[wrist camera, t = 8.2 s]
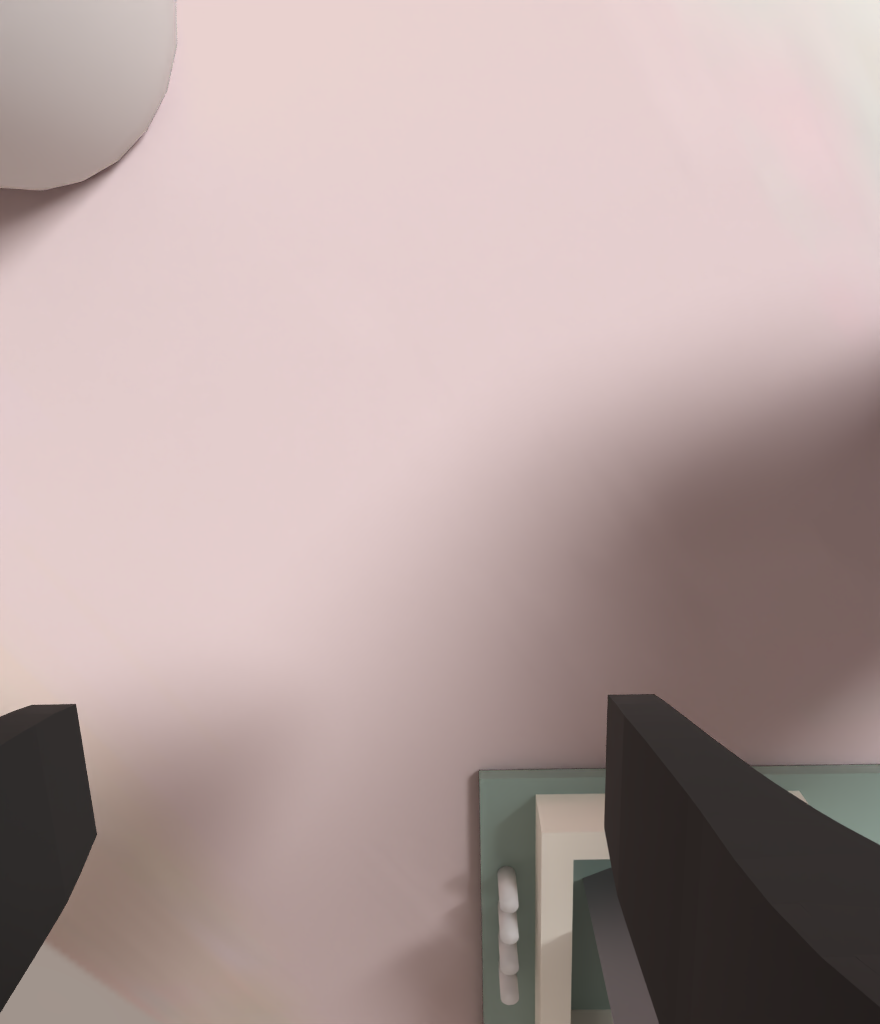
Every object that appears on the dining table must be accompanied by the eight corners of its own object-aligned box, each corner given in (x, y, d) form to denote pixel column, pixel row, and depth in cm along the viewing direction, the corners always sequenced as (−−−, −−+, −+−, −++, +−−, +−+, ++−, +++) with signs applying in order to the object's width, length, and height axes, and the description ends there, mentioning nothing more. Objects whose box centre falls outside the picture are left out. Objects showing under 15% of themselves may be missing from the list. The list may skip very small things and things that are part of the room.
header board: (926, 763, 22) (992, 830, 19) (887, 1030, 24) (941, 1123, 22) (478, 770, 22) (482, 837, 20) (483, 1033, 25) (487, 1126, 22)
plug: (684, 839, 22) (785, 1080, 15) (734, 949, 23) (849, 1222, 16) (582, 878, 23) (636, 1129, 16) (635, 985, 24) (708, 1265, 17)
